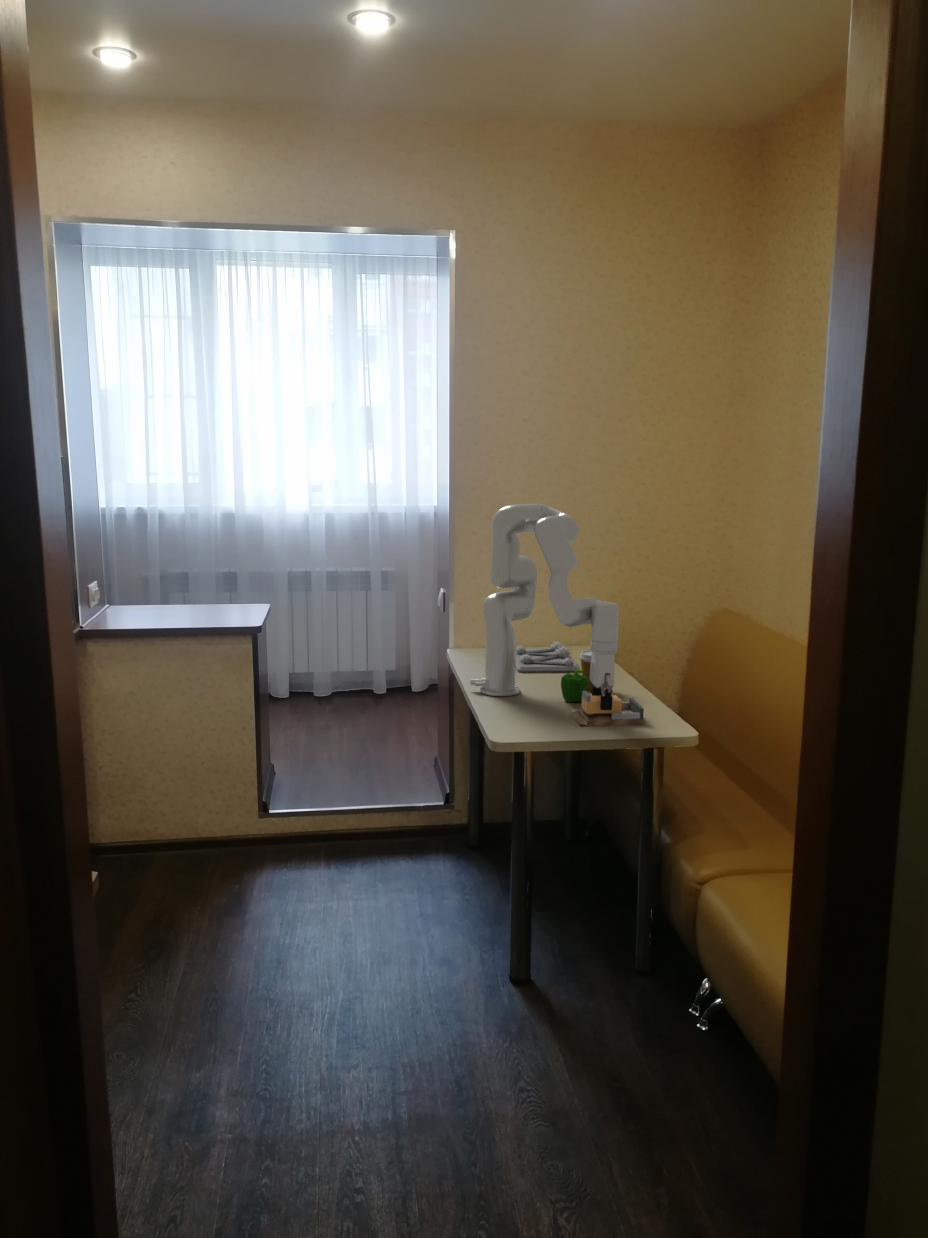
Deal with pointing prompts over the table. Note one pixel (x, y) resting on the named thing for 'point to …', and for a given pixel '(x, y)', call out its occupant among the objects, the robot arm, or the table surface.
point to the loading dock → (613, 716)
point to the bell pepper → (574, 686)
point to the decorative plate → (545, 659)
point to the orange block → (593, 704)
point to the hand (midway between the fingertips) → (601, 705)
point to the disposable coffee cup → (586, 666)
